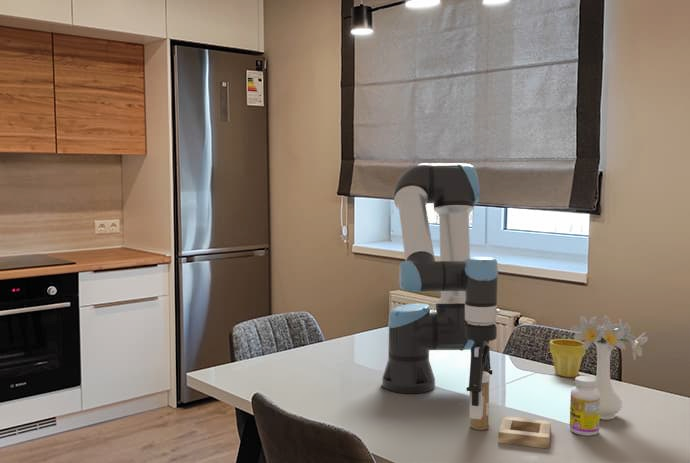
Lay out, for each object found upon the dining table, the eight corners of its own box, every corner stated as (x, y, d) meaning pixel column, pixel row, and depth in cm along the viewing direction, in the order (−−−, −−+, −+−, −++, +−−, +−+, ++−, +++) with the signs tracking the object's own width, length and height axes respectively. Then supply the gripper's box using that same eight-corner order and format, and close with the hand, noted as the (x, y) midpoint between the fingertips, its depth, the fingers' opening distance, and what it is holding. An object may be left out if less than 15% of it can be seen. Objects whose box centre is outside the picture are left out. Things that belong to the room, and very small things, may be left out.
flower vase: (640, 430, 168) (643, 327, 166) (561, 417, 178) (563, 318, 176) (648, 414, 180) (651, 317, 177) (573, 402, 189) (576, 310, 187)
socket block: (498, 442, 161) (498, 431, 161) (503, 426, 172) (503, 416, 171) (548, 448, 158) (548, 437, 157) (550, 431, 168) (551, 421, 168)
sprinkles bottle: (492, 428, 170) (493, 373, 169) (479, 432, 168) (479, 376, 167) (479, 422, 174) (480, 369, 173) (465, 426, 172) (466, 371, 170)
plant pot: (580, 369, 220) (581, 338, 220) (588, 379, 210) (589, 347, 209) (546, 368, 222) (547, 338, 221) (552, 378, 211) (553, 346, 210)
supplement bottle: (565, 426, 171) (566, 374, 170) (591, 426, 172) (593, 374, 171) (576, 437, 164) (577, 383, 163) (604, 436, 165) (605, 382, 164)
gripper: (490, 334, 156) (488, 428, 157) (502, 313, 179) (501, 395, 181) (456, 331, 158) (455, 424, 160) (472, 311, 182) (471, 392, 183)
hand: (479, 409), depth 170 cm, fingers open, 13 cm apart
